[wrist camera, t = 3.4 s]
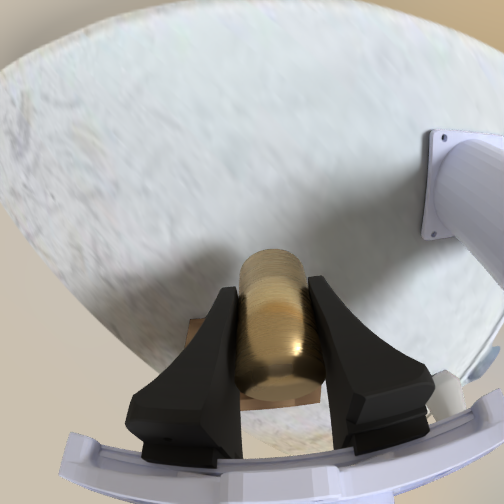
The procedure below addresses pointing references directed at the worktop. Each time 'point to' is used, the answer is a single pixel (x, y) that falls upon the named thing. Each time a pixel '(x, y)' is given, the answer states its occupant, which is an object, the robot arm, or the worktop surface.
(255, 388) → the bronze pin
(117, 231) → the worktop surface
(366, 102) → the worktop surface
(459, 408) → the salt shaker
